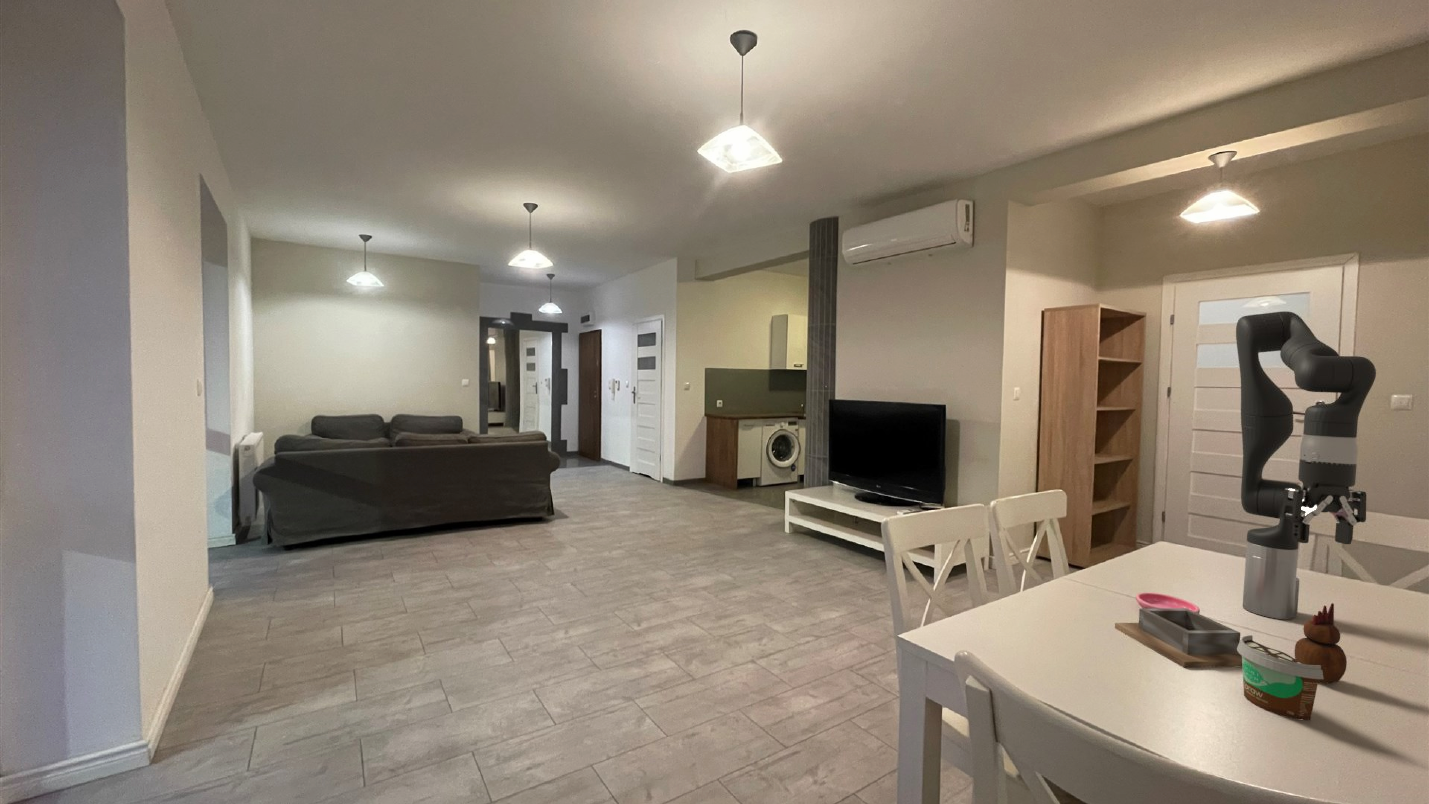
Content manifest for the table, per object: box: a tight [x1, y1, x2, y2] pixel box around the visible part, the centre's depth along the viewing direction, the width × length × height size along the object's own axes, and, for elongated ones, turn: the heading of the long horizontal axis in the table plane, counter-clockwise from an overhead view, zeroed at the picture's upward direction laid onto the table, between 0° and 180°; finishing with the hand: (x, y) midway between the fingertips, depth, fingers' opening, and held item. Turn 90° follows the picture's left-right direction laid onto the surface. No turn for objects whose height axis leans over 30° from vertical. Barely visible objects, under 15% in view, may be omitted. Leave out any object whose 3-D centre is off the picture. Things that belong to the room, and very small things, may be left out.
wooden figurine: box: [1294, 602, 1348, 684], centre depth 110 cm, size 7×6×15 cm
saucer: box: [1135, 592, 1201, 614], centre depth 141 cm, size 12×12×3 cm
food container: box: [1237, 634, 1324, 721], centre depth 101 cm, size 12×6×10 cm, turn 5°
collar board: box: [1114, 608, 1243, 669], centre depth 123 cm, size 18×18×6 cm
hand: (1321, 542), depth 110 cm, fingers open, 8 cm apart
